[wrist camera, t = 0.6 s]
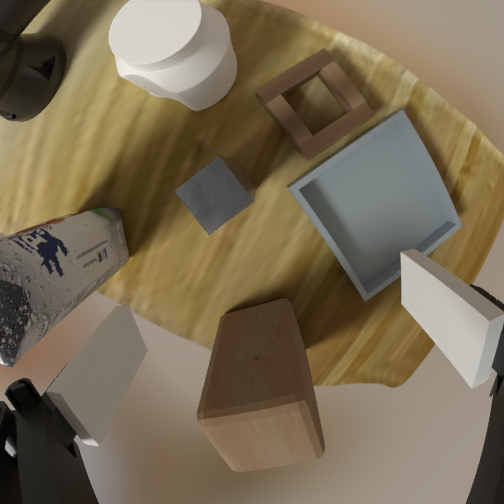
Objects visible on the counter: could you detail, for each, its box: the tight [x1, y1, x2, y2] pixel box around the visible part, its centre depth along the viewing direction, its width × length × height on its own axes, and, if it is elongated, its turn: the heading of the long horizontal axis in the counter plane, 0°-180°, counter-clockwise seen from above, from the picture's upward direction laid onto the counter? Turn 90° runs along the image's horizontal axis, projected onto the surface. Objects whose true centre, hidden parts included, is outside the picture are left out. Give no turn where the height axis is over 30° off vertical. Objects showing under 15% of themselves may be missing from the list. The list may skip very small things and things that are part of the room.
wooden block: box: [197, 298, 325, 472], centre depth 32 cm, size 10×10×20 cm
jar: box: [109, 0, 237, 111], centre depth 25 cm, size 12×10×15 cm
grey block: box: [175, 156, 257, 235], centre depth 29 cm, size 4×4×14 cm
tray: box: [287, 109, 462, 302], centre depth 34 cm, size 18×18×3 cm
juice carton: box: [0, 208, 129, 367], centre depth 25 cm, size 9×10×27 cm
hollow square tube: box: [255, 49, 375, 160], centre depth 31 cm, size 10×10×3 cm
